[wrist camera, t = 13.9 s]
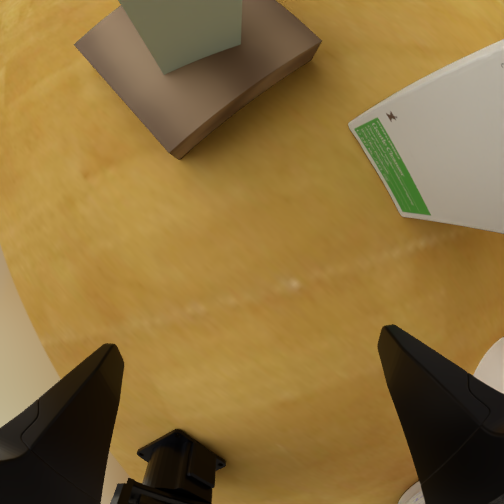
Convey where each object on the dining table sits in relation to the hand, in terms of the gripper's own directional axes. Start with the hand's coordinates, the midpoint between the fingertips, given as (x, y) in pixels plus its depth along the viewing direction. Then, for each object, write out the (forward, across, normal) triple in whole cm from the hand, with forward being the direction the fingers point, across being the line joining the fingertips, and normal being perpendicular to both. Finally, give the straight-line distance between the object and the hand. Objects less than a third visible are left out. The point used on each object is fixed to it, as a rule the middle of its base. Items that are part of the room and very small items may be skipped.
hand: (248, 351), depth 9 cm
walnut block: (+15, +3, -12) cm, 20 cm away
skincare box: (+14, -12, -4) cm, 19 cm away
